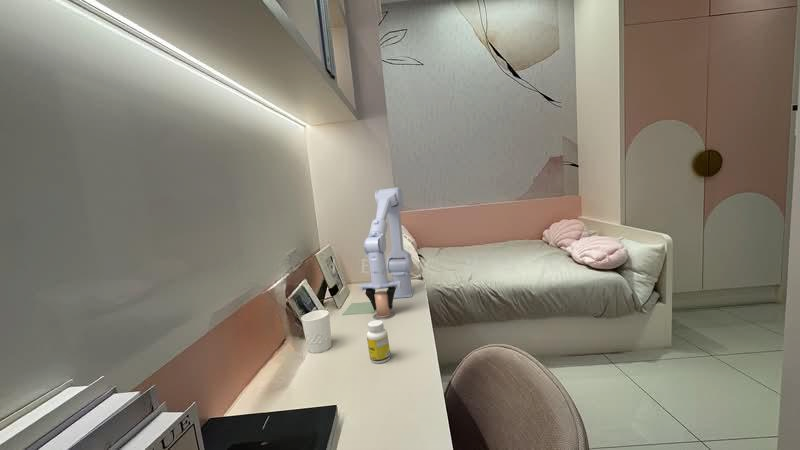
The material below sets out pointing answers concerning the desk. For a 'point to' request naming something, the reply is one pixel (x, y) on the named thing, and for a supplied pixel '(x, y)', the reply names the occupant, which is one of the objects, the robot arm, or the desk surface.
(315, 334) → the white cup
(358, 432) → the desk surface
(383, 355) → the supplement bottle
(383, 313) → the terracotta cup
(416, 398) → the desk surface
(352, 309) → the mat
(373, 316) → the coaster
